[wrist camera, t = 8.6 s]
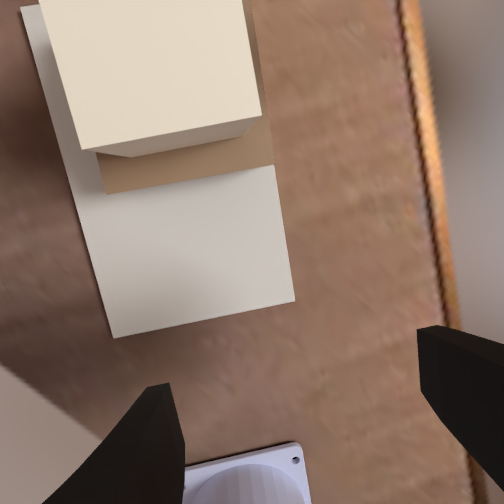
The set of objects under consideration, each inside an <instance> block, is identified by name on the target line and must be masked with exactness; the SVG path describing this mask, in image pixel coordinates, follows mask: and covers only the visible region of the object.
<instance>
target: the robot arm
mask: <svg viewBox="0 0 504 504" xmlns="http://www.w3.org/2000/svg"><path fill="white" fill-rule="evenodd" d="M417 343H418V358H419V372H420V387H421V392H422V393H423V395H424V397H425V398H426V400H427V401H428V403H429V404H430V406H431V407H432V409H433V410H434V411H435V413H436V414H437V416H438V417H439V419H440V420H441V421H442V423H443V424H444V425H445V426H446V427H447V428H448V430H449V431H450V432H451V433H452V434H453V435H454V436H455V438H456V439H457V440H458V441H459V442H460V443H461V444H462V446H463V447H464V448H465V449H466V450H467V451H468V452H469V453H470V454H471V456H472V457H473V458H474V459H475V460H476V461H477V462H478V463H479V465H480V466H481V467H482V468H483V469H484V470H485V471H486V472H487V474H488V475H489V476H490V477H491V478H492V479H493V480H494V481H495V482H496V484H497V485H498V486H499V487H500V488H501V489H502V490H503V491H504V344H501V343H498V342H495V341H491V340H488V339H485V338H482V337H478V336H475V335H472V334H468V333H466V332H462V331H459V330H455V329H452V328H448V327H444V326H439V325H435V326H430V327H426V328H421V329H417ZM294 457H298V458H297V459H293V458H294ZM42 504H311V499H310V493H309V487H308V481H307V475H306V469H305V463H304V457H303V451H302V448H301V446H300V444H298V443H296V442H292V443H288V444H284V445H279V446H275V447H271V448H267V449H262V450H258V451H254V452H249V453H245V454H241V455H236V456H232V457H228V458H224V459H219V460H215V461H211V462H206V463H202V464H198V465H194V466H189V467H185V442H184V438H183V434H182V430H181V427H180V423H179V419H178V415H177V411H176V407H175V403H174V399H173V396H172V392H171V388H170V384H169V383H165V384H160V385H155V386H151V387H147V388H146V389H145V390H144V392H143V393H142V394H141V395H140V396H139V398H138V399H137V400H136V401H135V403H134V404H133V405H132V406H131V408H130V409H129V410H128V411H127V413H126V414H125V415H124V416H123V418H122V419H121V420H120V421H119V422H118V424H117V425H116V426H115V427H114V429H113V430H112V431H111V432H110V433H109V435H108V436H107V437H106V438H105V439H104V440H103V441H102V443H101V444H100V445H99V446H98V447H97V448H96V449H95V450H94V451H93V453H92V454H91V455H90V456H89V457H88V458H87V459H86V460H85V462H84V463H83V464H82V465H81V466H80V467H79V468H78V469H77V470H76V471H75V472H74V473H73V474H72V475H71V476H70V477H69V478H68V479H67V480H66V481H65V482H64V483H63V484H62V485H61V486H60V487H59V488H58V489H57V490H56V491H55V492H54V493H53V494H52V495H51V496H50V497H48V498H47V499H46V500H45V501H44V502H43V503H42Z"/></svg>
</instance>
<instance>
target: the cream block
mask: <svg viewBox="0 0 504 504" xmlns="http://www.w3.org/2000/svg"><path fill="white" fill-rule="evenodd" d="M39 3H40V7H41V10H42V13H43V17H44V20H45V24H46V27H47V31H48V34H49V38H50V41H51V45H52V48H53V52H54V55H55V59H56V62H57V66H58V69H59V73H60V76H61V79H62V83H63V86H64V90H65V93H66V97H67V100H68V104H69V107H70V111H71V114H72V118H73V121H74V125H75V128H76V132H77V135H78V138H79V142H80V145H81V149H82V150H87V151H93V152H99V153H106V154H112V155H118V156H124V157H131V158H132V157H137V156H142V155H148V154H153V153H158V152H163V151H168V150H173V149H179V148H184V147H189V146H194V145H199V144H204V143H210V142H215V141H220V140H225V139H230V138H235V137H241V136H243V135H244V134H245V133H246V132H247V130H248V129H249V128H250V127H251V126H252V125H253V124H254V123H255V122H256V121H257V120H258V119H259V118H260V117H261V116H262V112H261V107H260V101H259V95H258V90H257V84H256V78H255V73H254V67H253V61H252V56H251V50H250V44H249V39H248V33H247V27H246V22H245V16H244V10H243V5H242V0H39Z"/></svg>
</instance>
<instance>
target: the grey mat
mask: <svg viewBox="0 0 504 504" xmlns="http://www.w3.org/2000/svg"><path fill="white" fill-rule="evenodd" d="M20 9H21V13H22V16H23V20H24V23H25V27H26V31H27V34H28V38H29V41H30V45H31V48H32V52H33V55H34V59H35V62H36V66H37V69H38V73H39V77H40V80H41V84H42V87H43V91H44V94H45V98H46V101H47V105H48V108H49V112H50V116H51V119H52V123H53V126H54V130H55V133H56V137H57V140H58V144H59V147H60V151H61V155H62V158H63V162H64V165H65V169H66V172H67V176H68V179H69V183H70V186H71V190H72V194H73V197H74V201H75V204H76V208H77V211H78V215H79V218H80V222H81V225H82V229H83V233H84V236H85V240H86V243H87V247H88V250H89V254H90V257H91V261H92V264H93V268H94V272H95V275H96V279H97V282H98V286H99V289H100V293H101V296H102V300H103V303H104V307H105V310H106V314H107V318H108V321H109V325H110V328H111V332H112V335H113V339H114V338H119V337H123V336H128V335H133V334H138V333H143V332H148V331H152V330H157V329H162V328H167V327H172V326H177V325H182V324H186V323H191V322H196V321H201V320H206V319H211V318H215V317H220V316H225V315H230V314H235V313H240V312H244V311H249V310H254V309H259V308H264V307H269V306H273V305H278V304H283V303H288V302H293V301H295V297H294V290H293V284H292V278H291V271H290V265H289V259H288V252H287V246H286V239H285V233H284V227H283V220H282V214H281V207H280V201H279V195H278V188H277V182H276V176H275V169H274V165H270V166H264V167H259V168H253V169H248V170H242V171H237V172H231V173H226V174H220V175H215V176H209V177H203V178H198V179H192V180H187V181H181V182H176V183H170V184H165V185H159V186H153V187H148V188H142V189H137V190H131V191H126V192H120V193H115V194H109V195H107V194H106V191H105V187H104V183H103V179H102V175H101V172H100V168H99V164H98V160H97V156H96V152H93V151H87V150H82V149H81V145H80V142H79V138H78V135H77V132H76V128H75V125H74V121H73V118H72V114H71V111H70V107H69V104H68V100H67V97H66V93H65V90H64V86H63V83H62V79H61V76H60V73H59V69H58V66H57V62H56V59H55V55H54V52H53V48H52V45H51V41H50V38H49V34H48V31H47V27H46V24H45V20H44V17H43V13H42V10H41V7H40V4H39V5H32V6H25V7H20Z"/></svg>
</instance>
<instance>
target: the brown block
mask: <svg viewBox="0 0 504 504" xmlns="http://www.w3.org/2000/svg"><path fill="white" fill-rule="evenodd" d="M242 5H243V10H244V16H245V22H246V27H247V33H248V39H249V44H250V50H251V56H252V61H253V67H254V73H255V78H256V84H257V90H258V95H259V101H260V107H261V112H262V116H261V117H260V118H259V119H258V120H257V121H256V122H255V123H254V124H253V125H252V126H251V127H250V128H249V129H248V130H247V132H246V133H245V134H244V135H243V136H241V137H235V138H230V139H225V140H220V141H215V142H210V143H204V144H199V145H194V146H189V147H184V148H179V149H173V150H168V151H163V152H158V153H153V154H148V155H142V156H137V157H132V158H131V157H124V156H118V155H112V154H106V153H99V152H96V156H97V160H98V164H99V168H100V172H101V175H102V179H103V183H104V187H105V191H106V194H107V195H109V194H115V193H120V192H126V191H131V190H137V189H142V188H148V187H153V186H159V185H165V184H170V183H176V182H181V181H187V180H192V179H198V178H203V177H209V176H215V175H220V174H226V173H231V172H237V171H242V170H248V169H253V168H259V167H264V166H270V165H276V162H275V156H274V149H273V143H272V136H271V130H270V124H269V117H268V111H267V104H266V98H265V91H264V85H263V79H262V72H261V66H260V59H259V53H258V46H257V40H256V33H255V27H254V21H253V14H252V8H251V1H250V0H242Z"/></svg>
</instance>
